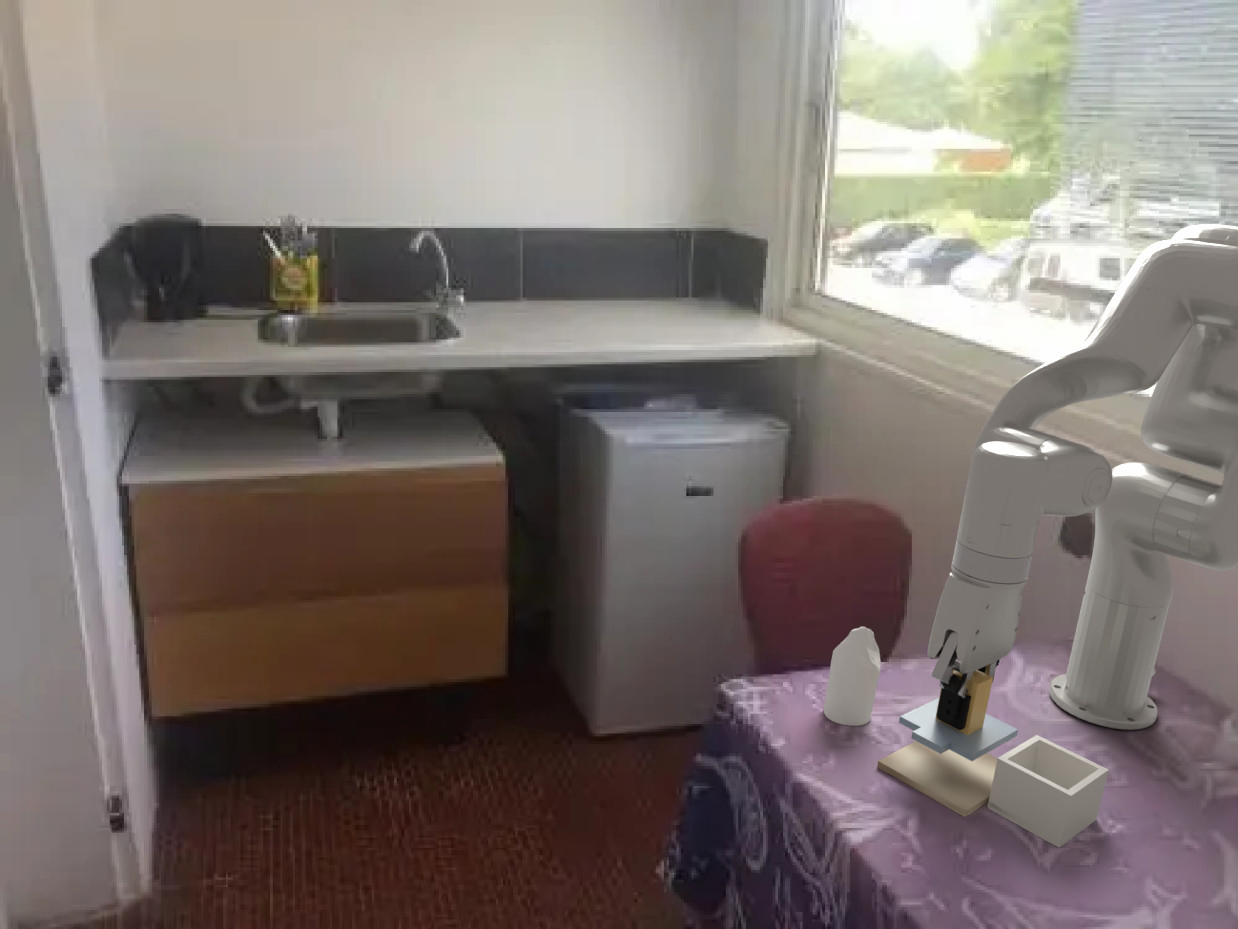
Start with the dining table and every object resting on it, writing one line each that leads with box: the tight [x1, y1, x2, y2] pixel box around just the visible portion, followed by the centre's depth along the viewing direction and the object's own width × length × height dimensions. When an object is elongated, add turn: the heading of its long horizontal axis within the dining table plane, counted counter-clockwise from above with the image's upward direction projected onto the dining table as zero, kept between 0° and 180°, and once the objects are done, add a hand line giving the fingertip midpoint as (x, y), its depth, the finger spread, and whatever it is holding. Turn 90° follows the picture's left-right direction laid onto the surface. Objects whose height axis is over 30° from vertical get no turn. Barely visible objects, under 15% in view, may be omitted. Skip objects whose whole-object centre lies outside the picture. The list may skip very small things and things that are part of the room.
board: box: [876, 740, 999, 818], centre depth 119 cm, size 12×11×1 cm
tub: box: [986, 734, 1109, 848], centre depth 112 cm, size 8×8×6 cm
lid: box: [898, 661, 1019, 761], centre depth 116 cm, size 11×9×7 cm
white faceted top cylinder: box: [823, 626, 882, 727], centre depth 128 cm, size 6×12×6 cm
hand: (959, 717), depth 117 cm, fingers closed on lid, 3 cm apart
